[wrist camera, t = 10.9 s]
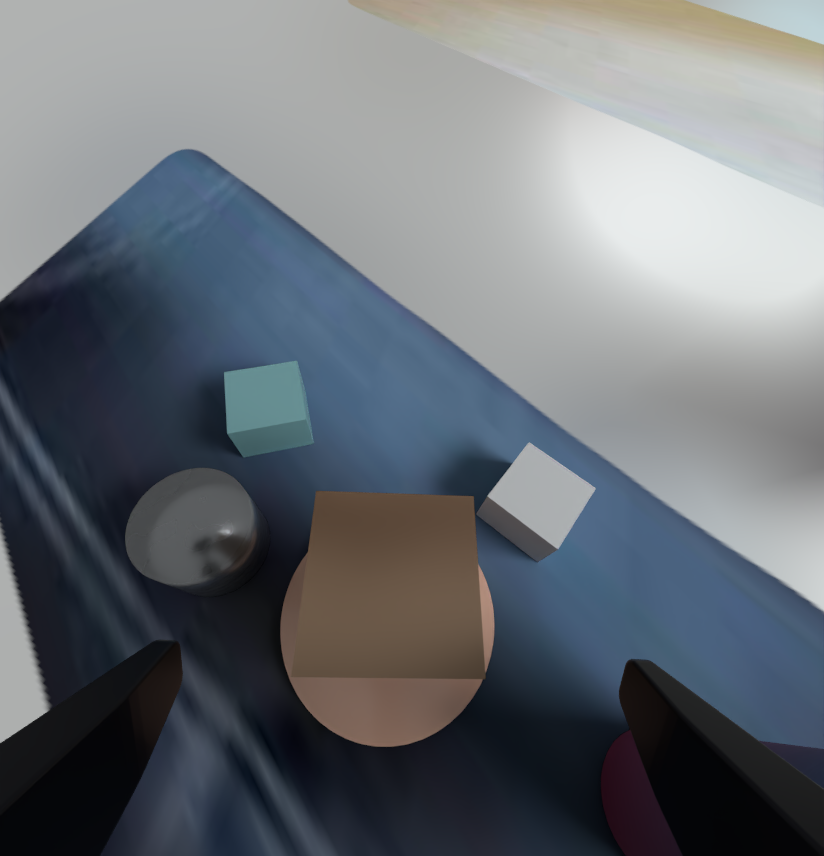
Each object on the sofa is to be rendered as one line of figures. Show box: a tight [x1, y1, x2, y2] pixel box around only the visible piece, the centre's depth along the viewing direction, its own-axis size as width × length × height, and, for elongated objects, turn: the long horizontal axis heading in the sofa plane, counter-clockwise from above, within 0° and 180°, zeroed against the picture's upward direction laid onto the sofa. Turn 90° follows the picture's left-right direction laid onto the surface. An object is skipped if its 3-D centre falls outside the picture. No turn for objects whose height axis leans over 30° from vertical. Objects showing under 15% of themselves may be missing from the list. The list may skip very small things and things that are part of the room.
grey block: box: [476, 443, 596, 562], centre depth 22 cm, size 4×4×3 cm
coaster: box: [280, 553, 494, 747], centre depth 19 cm, size 10×10×1 cm
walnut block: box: [291, 491, 486, 679], centre depth 15 cm, size 4×4×10 cm
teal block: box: [224, 361, 314, 458], centre depth 23 cm, size 4×4×3 cm
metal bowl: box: [125, 468, 270, 597], centre depth 19 cm, size 5×5×4 cm
